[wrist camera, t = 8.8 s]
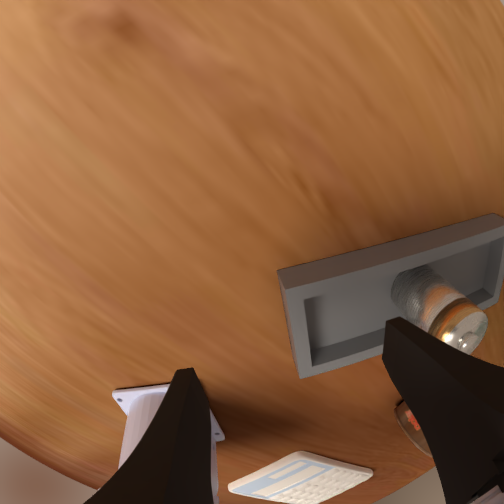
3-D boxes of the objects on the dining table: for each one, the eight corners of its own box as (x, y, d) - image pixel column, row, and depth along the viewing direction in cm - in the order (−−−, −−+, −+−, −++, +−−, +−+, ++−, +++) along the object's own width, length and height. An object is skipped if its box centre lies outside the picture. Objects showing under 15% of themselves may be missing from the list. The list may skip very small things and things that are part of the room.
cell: (431, 298, 22) (485, 354, 15) (390, 315, 22) (440, 381, 15) (433, 254, 20) (499, 307, 13) (389, 271, 20) (450, 334, 13)
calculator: (310, 499, 40) (312, 507, 39) (223, 482, 33) (224, 493, 32) (373, 467, 38) (377, 476, 36) (298, 445, 30) (301, 458, 29)
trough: (482, 289, 24) (497, 302, 22) (292, 357, 23) (299, 379, 21) (493, 213, 20) (512, 222, 18) (276, 270, 20) (284, 289, 18)
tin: (383, 401, 28) (414, 460, 21) (405, 382, 28) (440, 440, 20) (432, 421, 33) (457, 463, 26) (449, 407, 32) (475, 448, 25)
